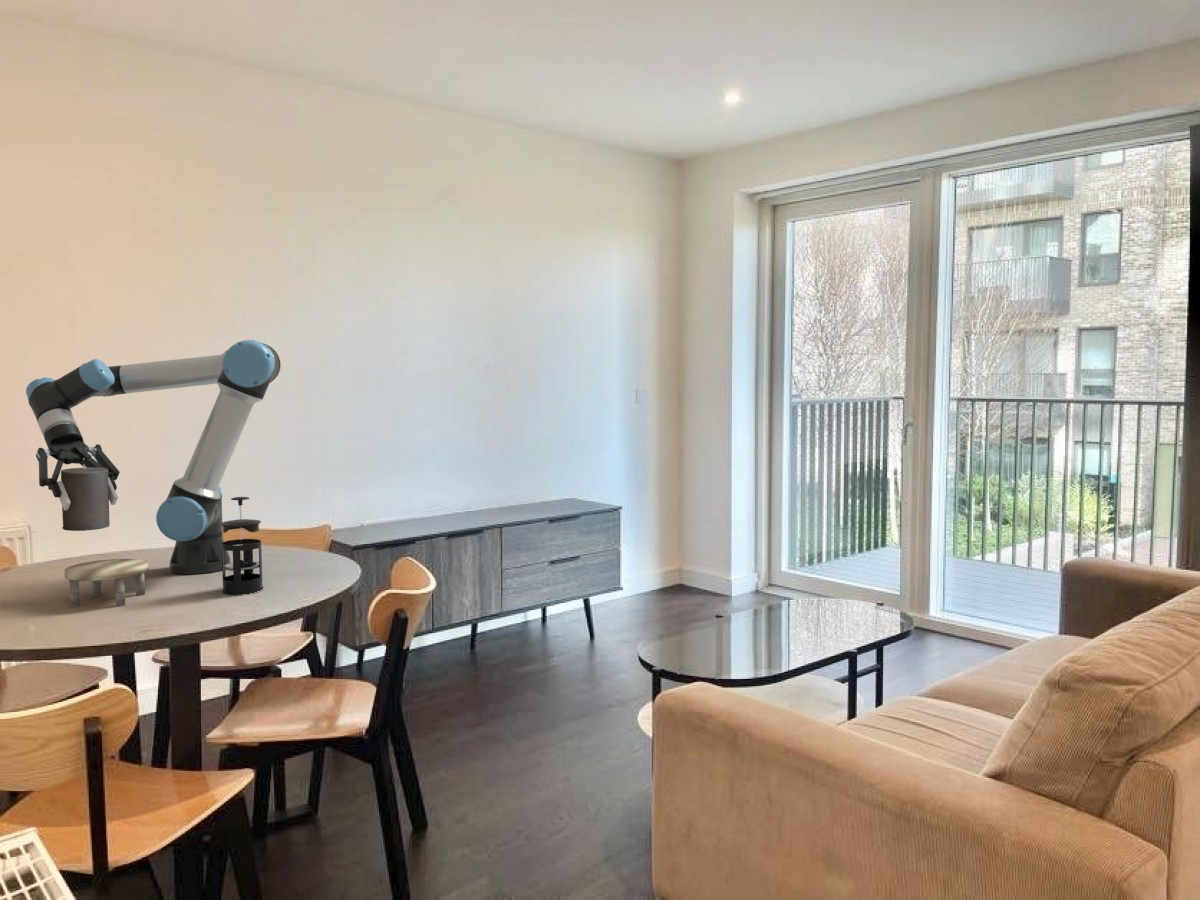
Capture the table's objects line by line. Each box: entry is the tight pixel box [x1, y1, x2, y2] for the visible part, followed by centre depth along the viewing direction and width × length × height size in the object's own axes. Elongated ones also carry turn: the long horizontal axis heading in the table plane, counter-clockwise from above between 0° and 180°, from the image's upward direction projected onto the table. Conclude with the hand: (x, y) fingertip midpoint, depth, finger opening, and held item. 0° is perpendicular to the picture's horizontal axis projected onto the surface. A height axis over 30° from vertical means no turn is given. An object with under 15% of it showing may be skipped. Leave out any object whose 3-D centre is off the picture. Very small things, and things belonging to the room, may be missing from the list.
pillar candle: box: [60, 464, 110, 532], centre depth 204 cm, size 10×10×15 cm
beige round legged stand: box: [64, 558, 150, 607], centre depth 202 cm, size 17×17×8 cm
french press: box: [221, 496, 264, 596], centre depth 212 cm, size 12×9×23 cm
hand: (91, 503), depth 202 cm, fingers closed on pillar candle, 9 cm apart
